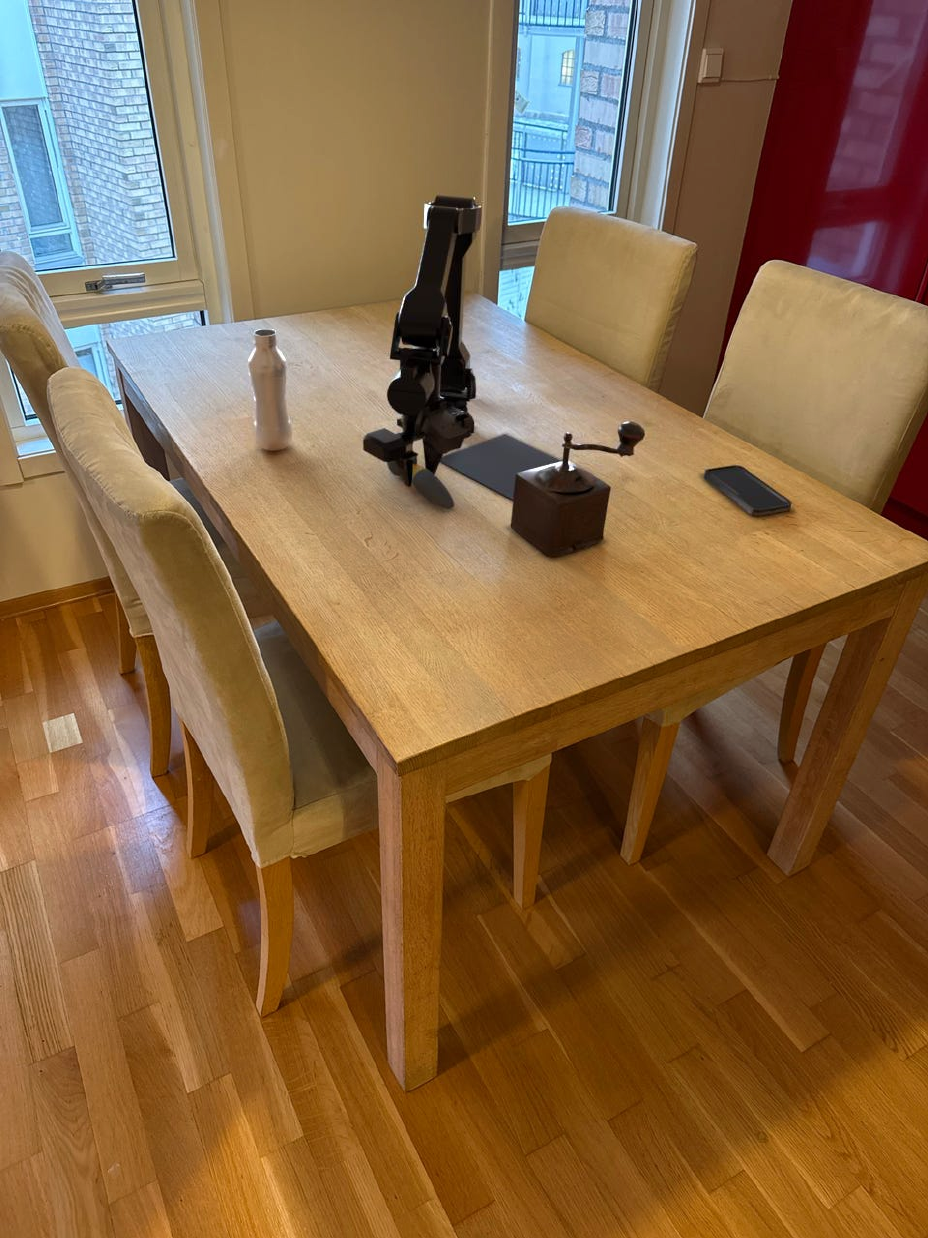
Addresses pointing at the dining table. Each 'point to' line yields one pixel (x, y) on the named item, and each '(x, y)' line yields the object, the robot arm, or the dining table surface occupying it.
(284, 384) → the plastic bottle
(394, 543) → the dining table surface
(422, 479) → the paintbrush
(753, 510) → the phone
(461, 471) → the mat
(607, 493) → the manual coffee grinder
